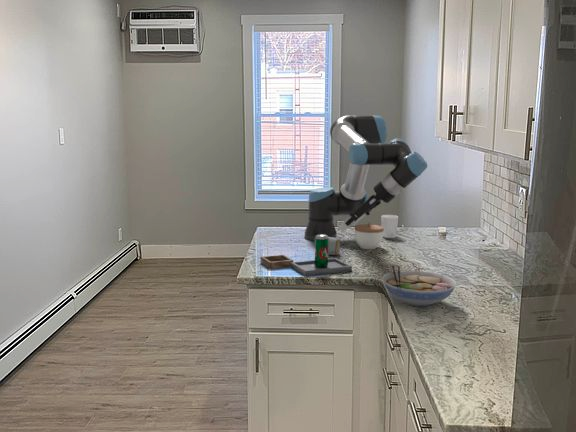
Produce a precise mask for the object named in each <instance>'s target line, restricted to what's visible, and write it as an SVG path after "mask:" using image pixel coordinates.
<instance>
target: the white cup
mask: <svg viewBox="0 0 576 432" xmlns="http://www.w3.org/2000/svg"><path fill="white" fill-rule="evenodd" d="M380 223H381V224H380V226H382V227H383V228H384V231H383V238H385V239H395V238H397V231H398V225H399V224H398V223H399V216H398V215H396V214H382V215H381V220H380Z"/></svg>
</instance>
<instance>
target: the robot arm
mask: <svg viewBox="0 0 576 432" xmlns="http://www.w3.org/2000/svg"><path fill="white" fill-rule="evenodd" d="M387 131H388V130H387V124H386V121H385V119H384V117H383V116H380V115H352V114H348V115H344V116H340V117H339V118H337V119H336V120H334V121H333V123H332V125H330V130H329V135H330V137H331V139H332V141H333V142H334V143H336V145H338V146H342V147H343V148H344V149H345V150H346V151H347V152H348V159H349V162H350V163H349V167H348V169H347V170H348V171H347V175H346V178H345V183H343V184H342V185H341V187H340V189H339V190H335V188H334V187H330V186H329V187H318V188H314V189H312V190H311V191H309V195H308V221H307V224H306V228H305V230H304V239H307V240H309V241H315V238H316V235H318V234H324V235H328V237H333V238H337V239H338V237H337V236H338V234H337V230H336V227H335V223H334V216H349V217H348V218H346V219H345V220H344V221H343V222H342V223H341V224H339V226H337V229H338V230H339V231H340V232H341V233H342V234H343V233H345V232H346V231H347V230H349V228H350V227H352V226H353V227H355V226H357V225H358V223H359V222H360V221H361V220H363V218H365V217H366V216H369V215H371V212H372V210H374V209H376V207H378V206H379V205H381V203H382V202H384V203H387V204H388V203H390V202H391V201H392V200H393V199H395V197H396V196H397V195H399V194H400V193H404V190H405V188H407V187H408V186H409V185H410V184H412V183H413V182H414V181H415V180H416V179H417V178H419V176H421V175H422V174H423V173H424V172H425V171H426V169H427V168H428V163H427V161H426V160H425V159H424V157H423V156H422V155H421V154H419V152H417V151H411V148H410V146H409V145H408V143H407V142H406V141H405V140H404V139H403V138H399V137H397V138H394V139H391V140H389V141H388V143H386V141H387V136H388V135H387V134H388V133H387ZM371 165H372V166H375V165H376V166H377V165H379V166H380V165H385V166H387V165H392V166H394V168H393V169H392V170H391V171H390V172H388V173H387V174H386V175H385V176H384V177H383V178H382V179H381V180H380V181H379V182H378V183H377V184H376V185H374V187H373V191H374V193H375V194H372V195H371V196H370V197H368V193H367V192H366V190H365V183H366V180H367V176H368V173H369V169H370V166H371Z"/></svg>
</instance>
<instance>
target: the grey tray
mask: <svg viewBox="0 0 576 432" xmlns="http://www.w3.org/2000/svg"><path fill="white" fill-rule="evenodd" d="M314 263H315V259H312V260H301V261H300V260H299V261H293V262H291V267H290V268H291V269H292V270H295V272H297V271H298V272H297V273H299V274H301V275H302V274H303V275H302V276H304V277H311V276H312V277H313V276H320V275H330V274H339V272H341V273H346V271H350V272H352V271H353V270H352V268H353V267H352V265H350V264H349V263H346V262H345V261H343V260H340V259H339V258H336V257H332V258H328V266H327V267H326V268H317V267H315V265H314Z"/></svg>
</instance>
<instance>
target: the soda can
mask: <svg viewBox="0 0 576 432" xmlns="http://www.w3.org/2000/svg"><path fill="white" fill-rule="evenodd" d="M328 246H329V238H328V235H324V234H318V235H316V238H315V240H314V260H315V263H314V265H315V267H317V268H326V267H327V266H328V259H329V255H328Z"/></svg>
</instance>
